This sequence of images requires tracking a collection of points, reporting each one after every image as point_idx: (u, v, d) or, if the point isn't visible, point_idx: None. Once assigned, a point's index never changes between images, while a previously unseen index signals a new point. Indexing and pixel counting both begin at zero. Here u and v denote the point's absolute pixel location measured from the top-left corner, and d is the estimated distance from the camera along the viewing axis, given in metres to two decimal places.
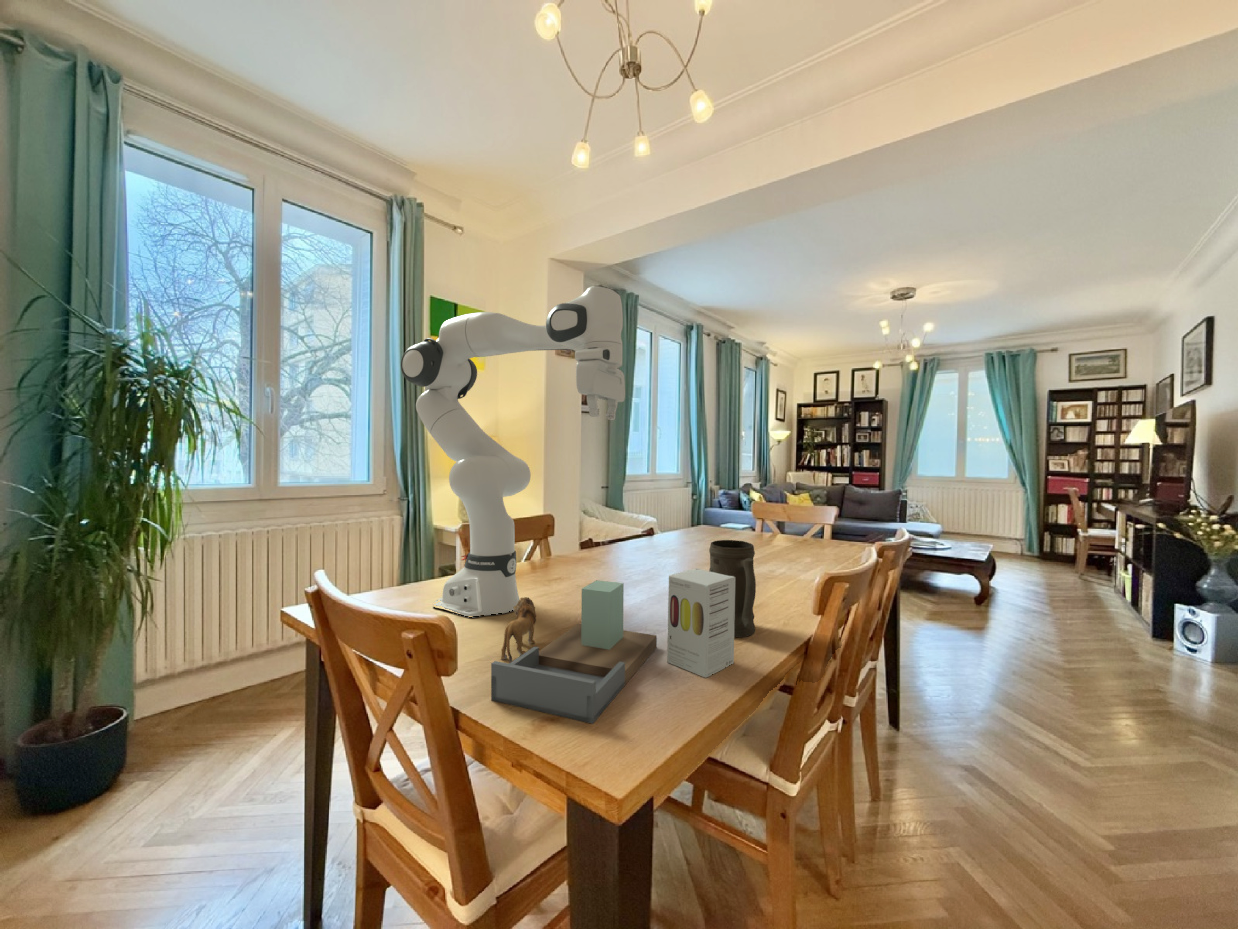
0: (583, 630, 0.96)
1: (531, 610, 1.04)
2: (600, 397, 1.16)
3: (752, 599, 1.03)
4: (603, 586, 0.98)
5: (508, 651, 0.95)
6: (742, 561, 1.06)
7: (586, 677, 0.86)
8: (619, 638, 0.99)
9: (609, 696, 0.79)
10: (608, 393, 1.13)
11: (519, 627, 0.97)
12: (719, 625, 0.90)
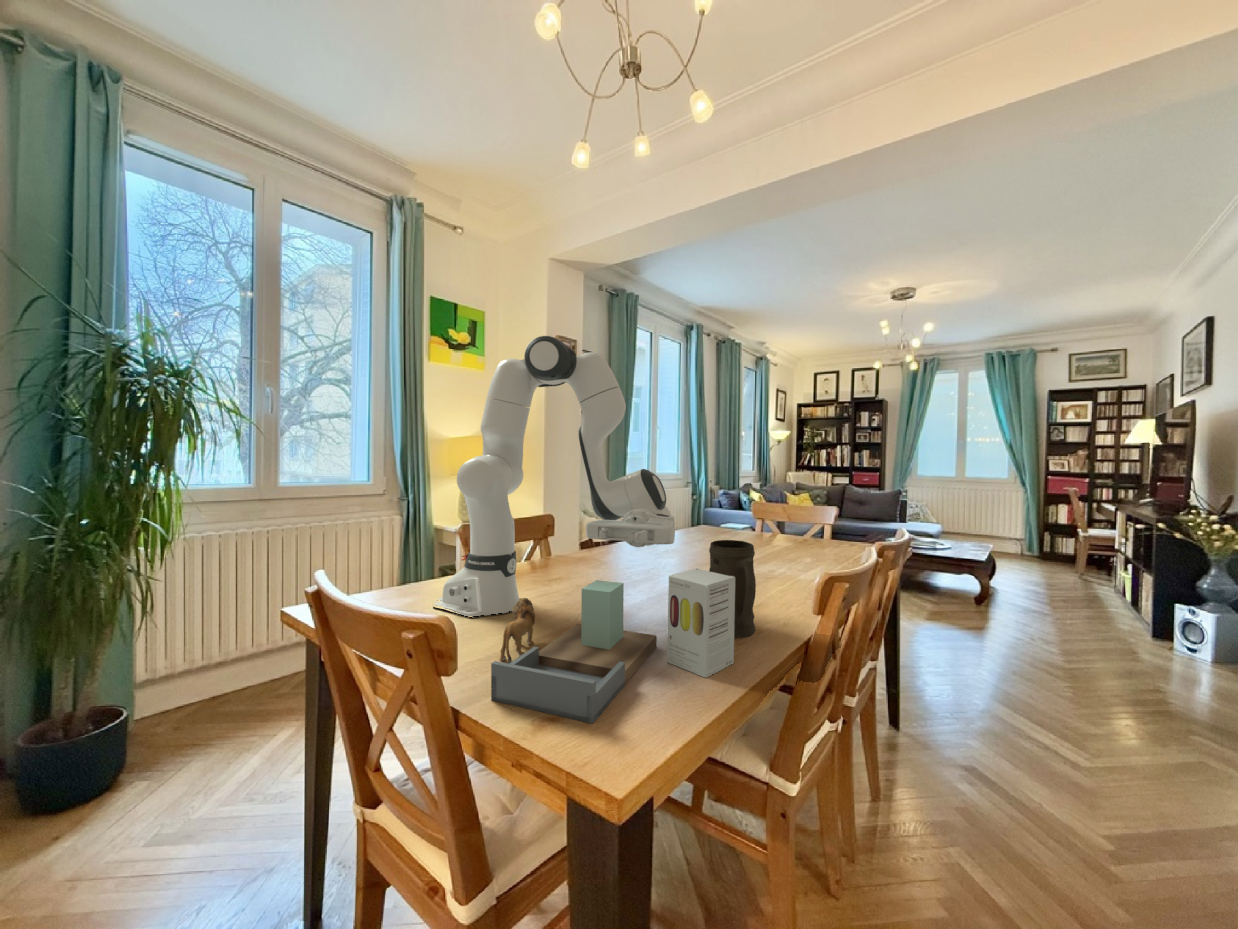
0: (583, 630, 0.96)
1: (530, 611, 1.03)
2: (621, 527, 1.10)
3: (752, 599, 1.03)
4: (603, 586, 0.98)
5: (507, 652, 0.94)
6: (742, 561, 1.06)
7: (586, 677, 0.86)
8: (619, 638, 0.99)
9: (609, 696, 0.79)
10: None
11: (518, 628, 0.97)
12: (719, 625, 0.90)
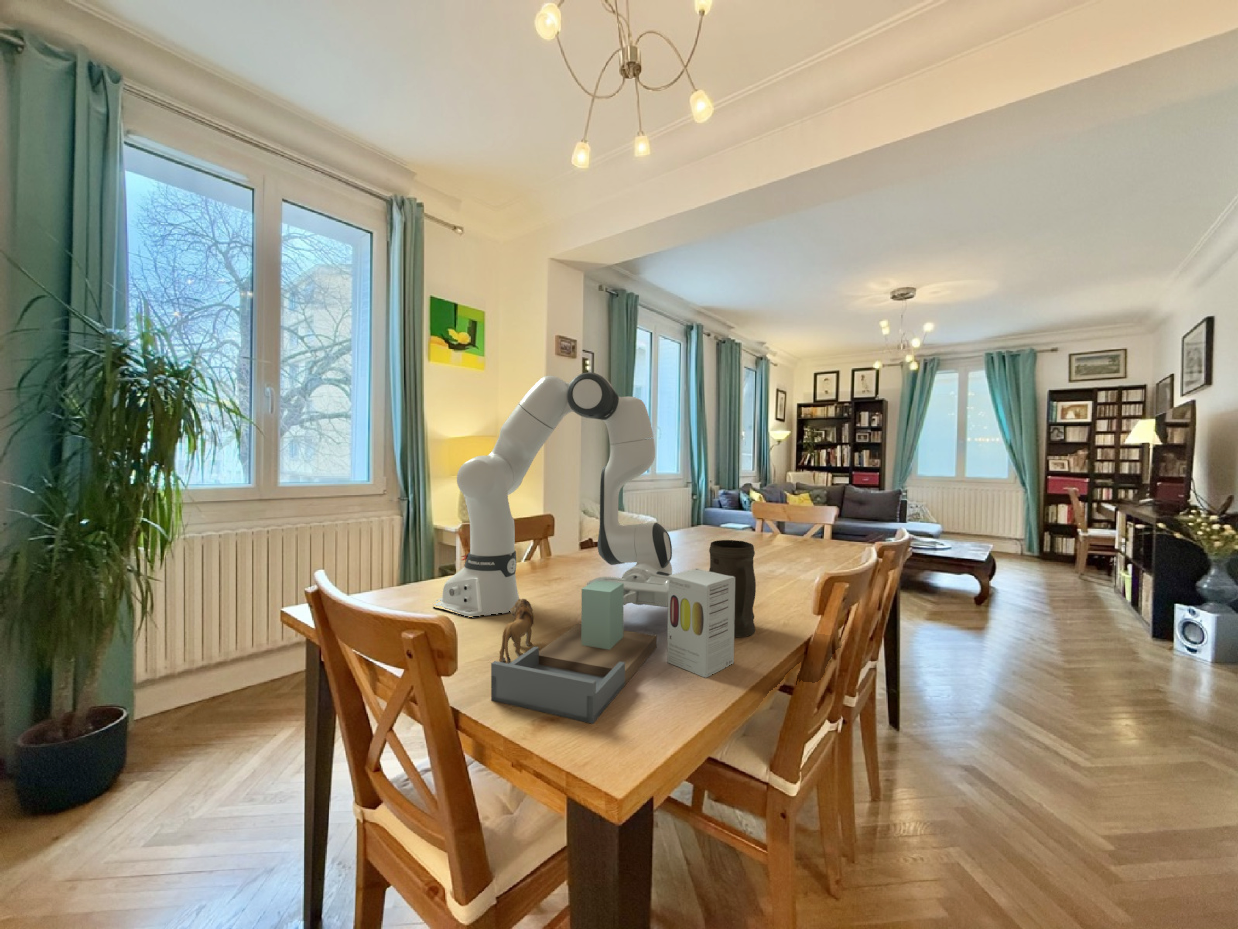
0: (583, 630, 0.96)
1: (529, 612, 1.03)
2: None
3: (752, 599, 1.03)
4: (603, 586, 0.98)
5: (506, 653, 0.94)
6: (742, 561, 1.06)
7: (586, 677, 0.86)
8: (619, 638, 0.99)
9: (609, 696, 0.79)
10: None
11: (518, 628, 0.96)
12: (719, 625, 0.90)
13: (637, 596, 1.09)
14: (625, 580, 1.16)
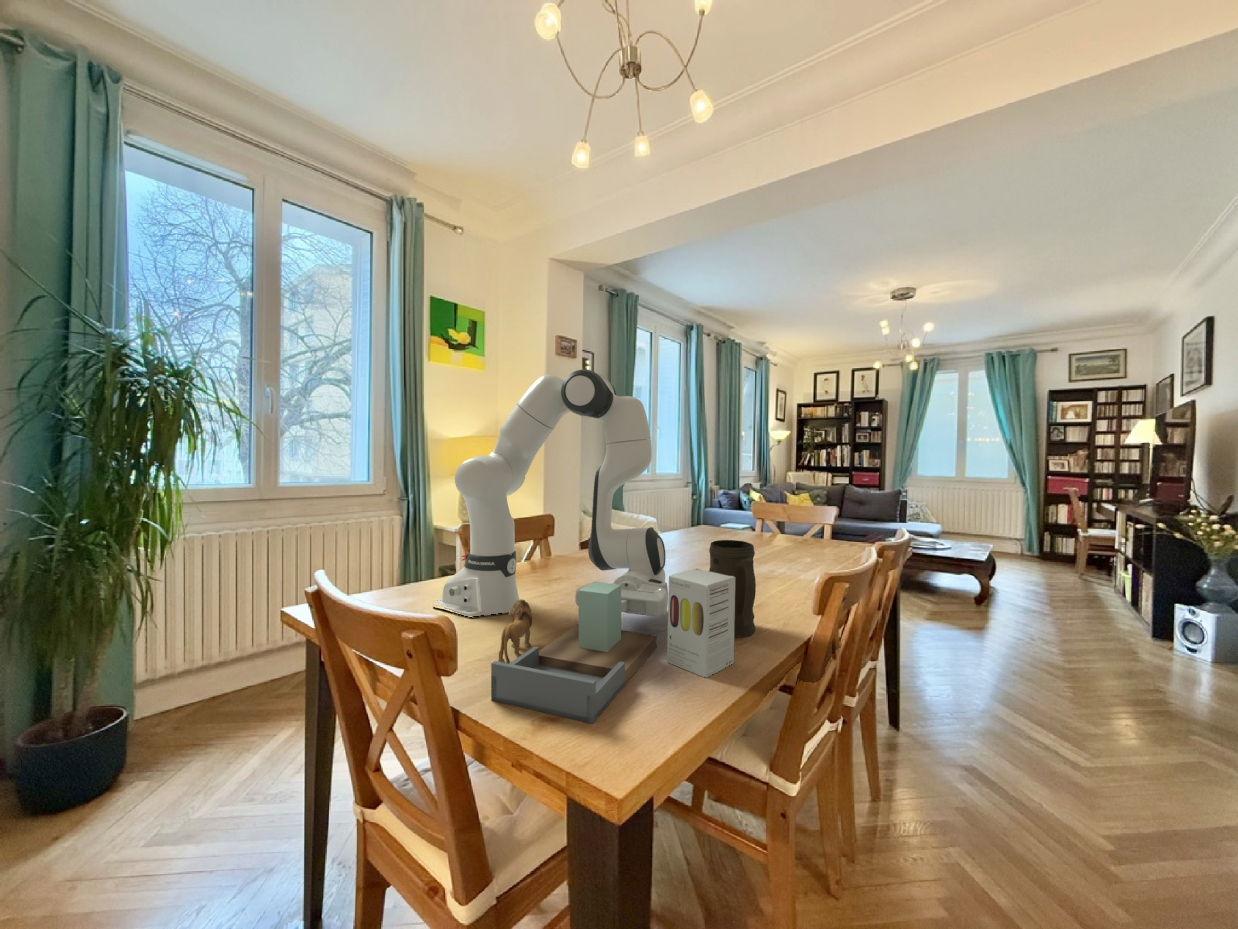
0: (581, 632, 0.95)
1: (528, 613, 1.02)
2: None
3: (752, 599, 1.03)
4: (600, 588, 0.97)
5: (506, 655, 0.93)
6: (742, 561, 1.06)
7: (586, 677, 0.86)
8: (617, 640, 0.98)
9: (609, 696, 0.79)
10: None
11: (517, 630, 0.96)
12: (719, 626, 0.90)
13: (628, 605, 1.04)
14: None
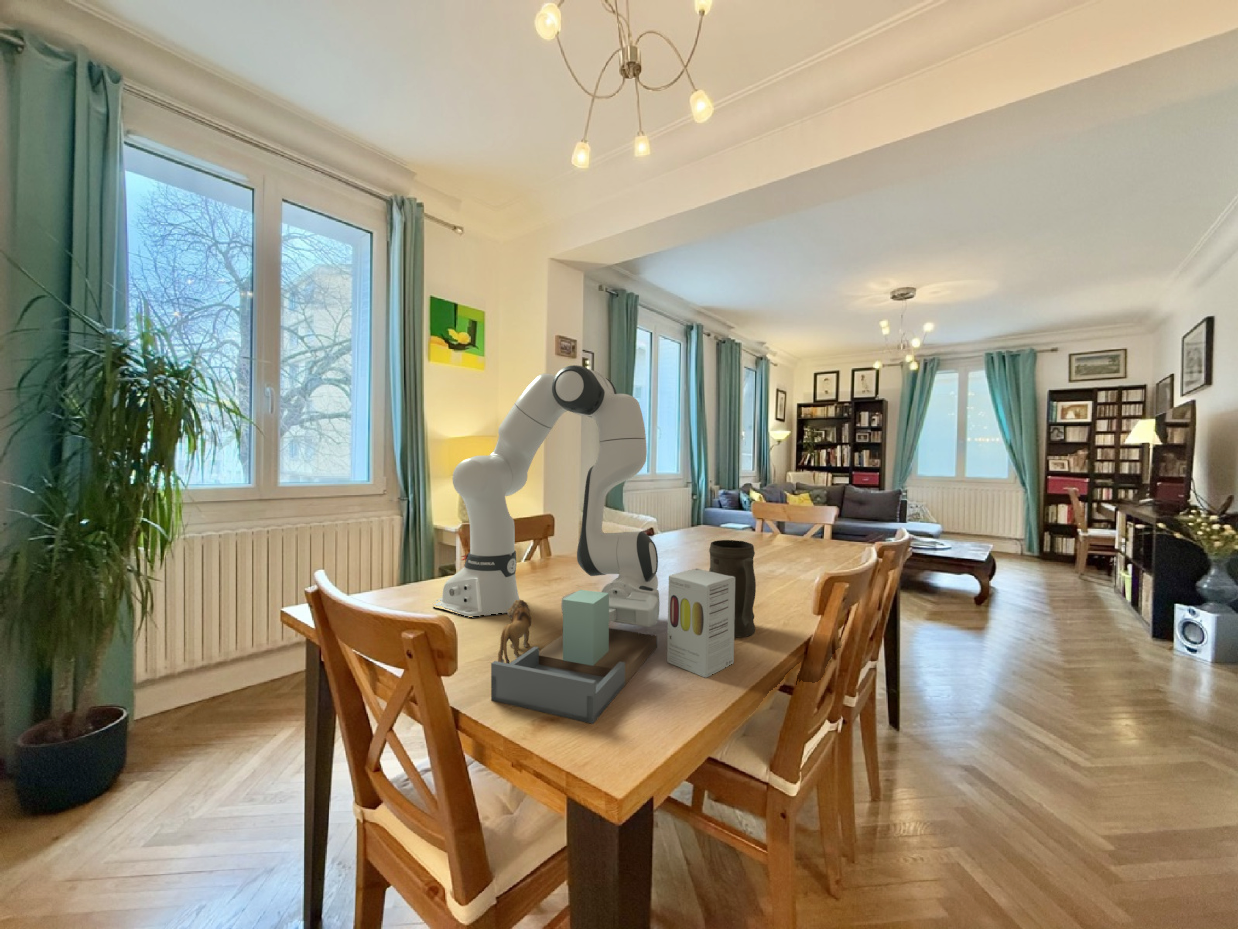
0: (565, 644, 0.89)
1: (527, 613, 1.02)
2: None
3: (752, 599, 1.03)
4: (586, 597, 0.91)
5: (505, 655, 0.93)
6: (742, 561, 1.06)
7: (586, 677, 0.86)
8: (604, 652, 0.92)
9: (609, 696, 0.79)
10: None
11: (516, 630, 0.95)
12: (719, 625, 0.90)
13: (616, 614, 0.98)
14: None
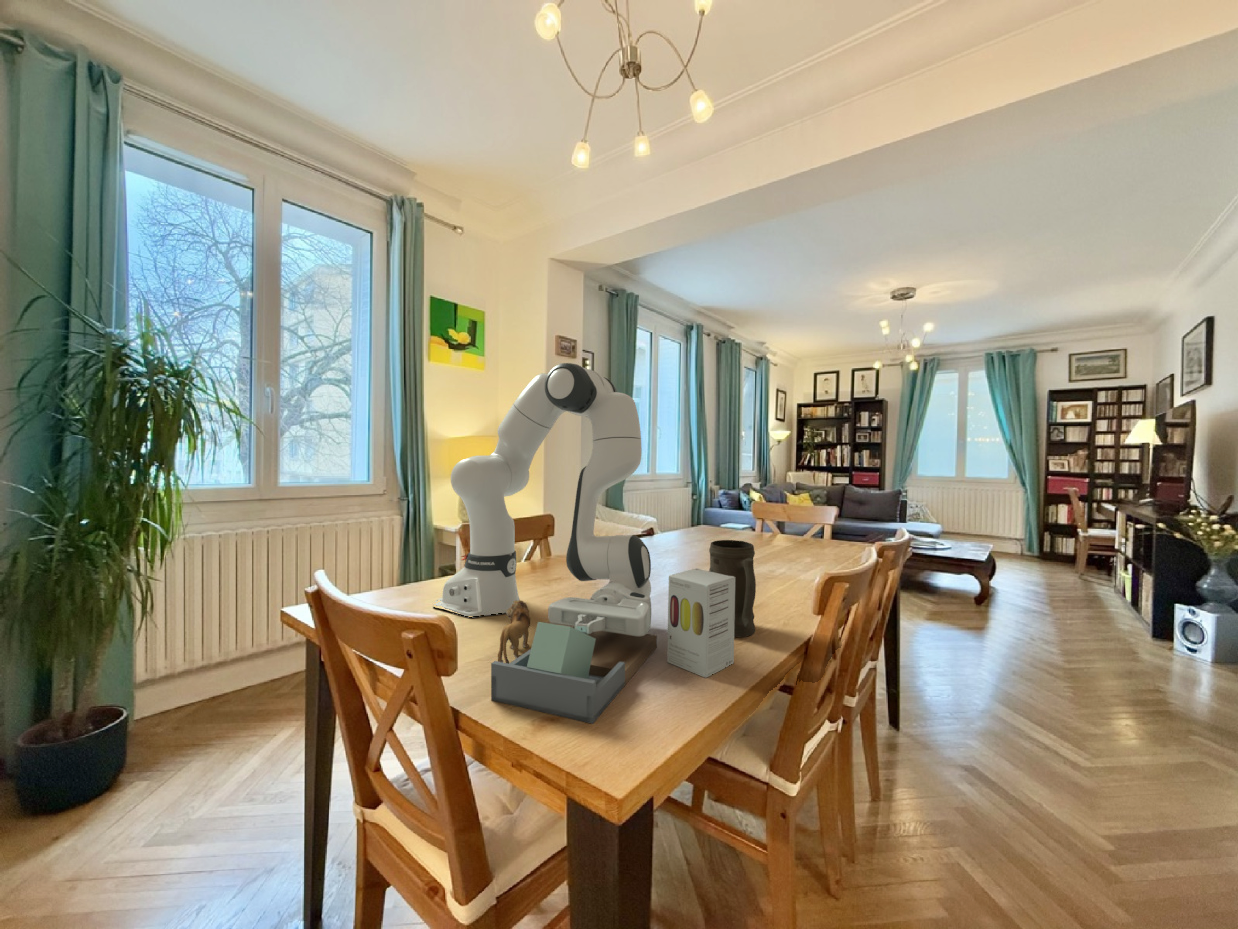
0: None
1: (526, 613, 1.02)
2: None
3: (752, 599, 1.03)
4: (549, 651, 0.78)
5: (505, 656, 0.92)
6: (742, 561, 1.06)
7: None
8: (592, 650, 0.87)
9: (609, 696, 0.79)
10: None
11: (516, 631, 0.95)
12: (719, 625, 0.90)
13: (605, 623, 0.93)
14: (593, 602, 1.00)
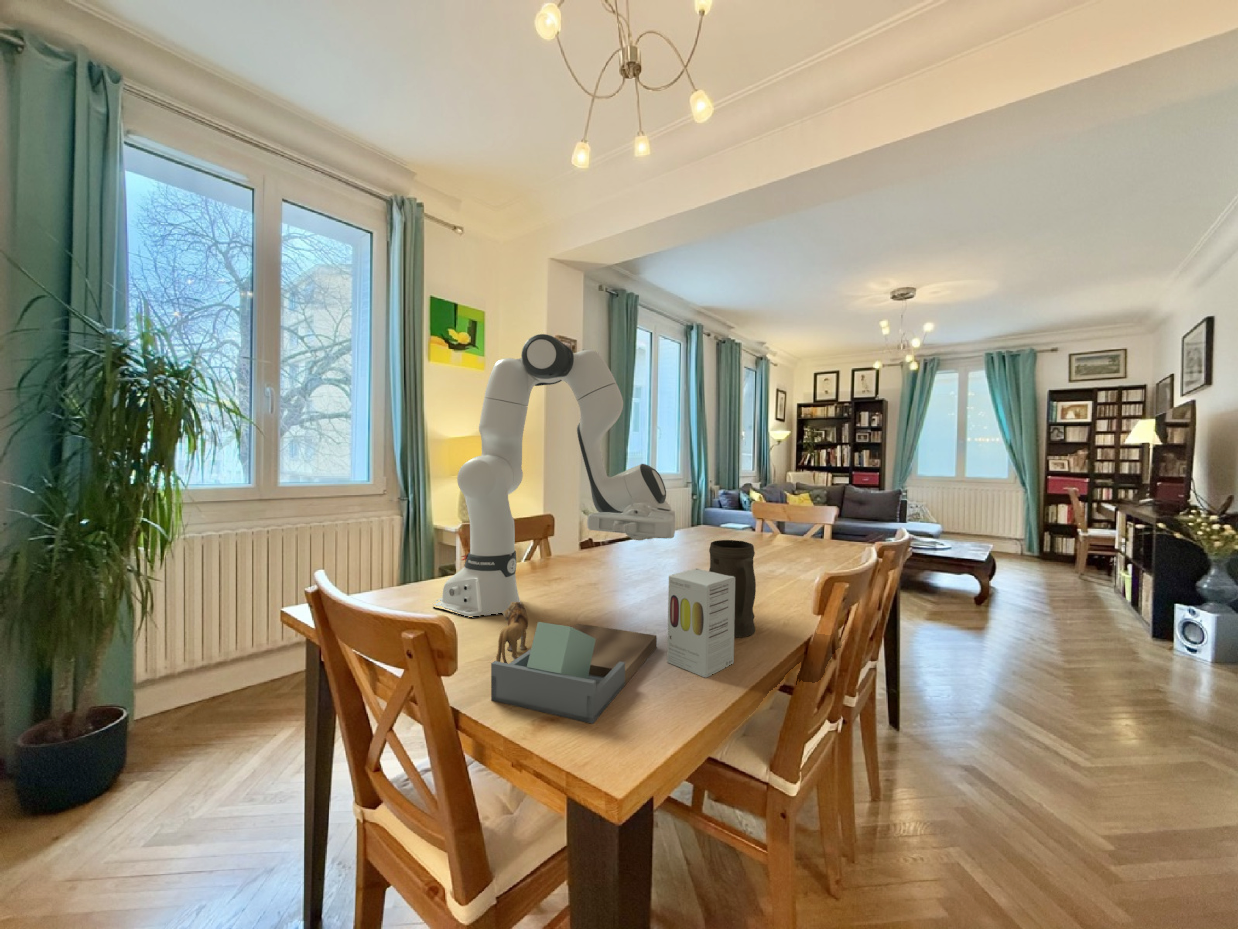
0: None
1: (524, 615, 1.01)
2: (622, 520, 1.11)
3: (752, 599, 1.03)
4: (549, 651, 0.78)
5: (504, 658, 0.91)
6: (742, 561, 1.06)
7: None
8: (592, 650, 0.87)
9: (609, 696, 0.79)
10: (631, 534, 1.11)
11: (514, 632, 0.94)
12: (719, 625, 0.90)
13: (637, 527, 1.10)
14: (626, 515, 1.16)
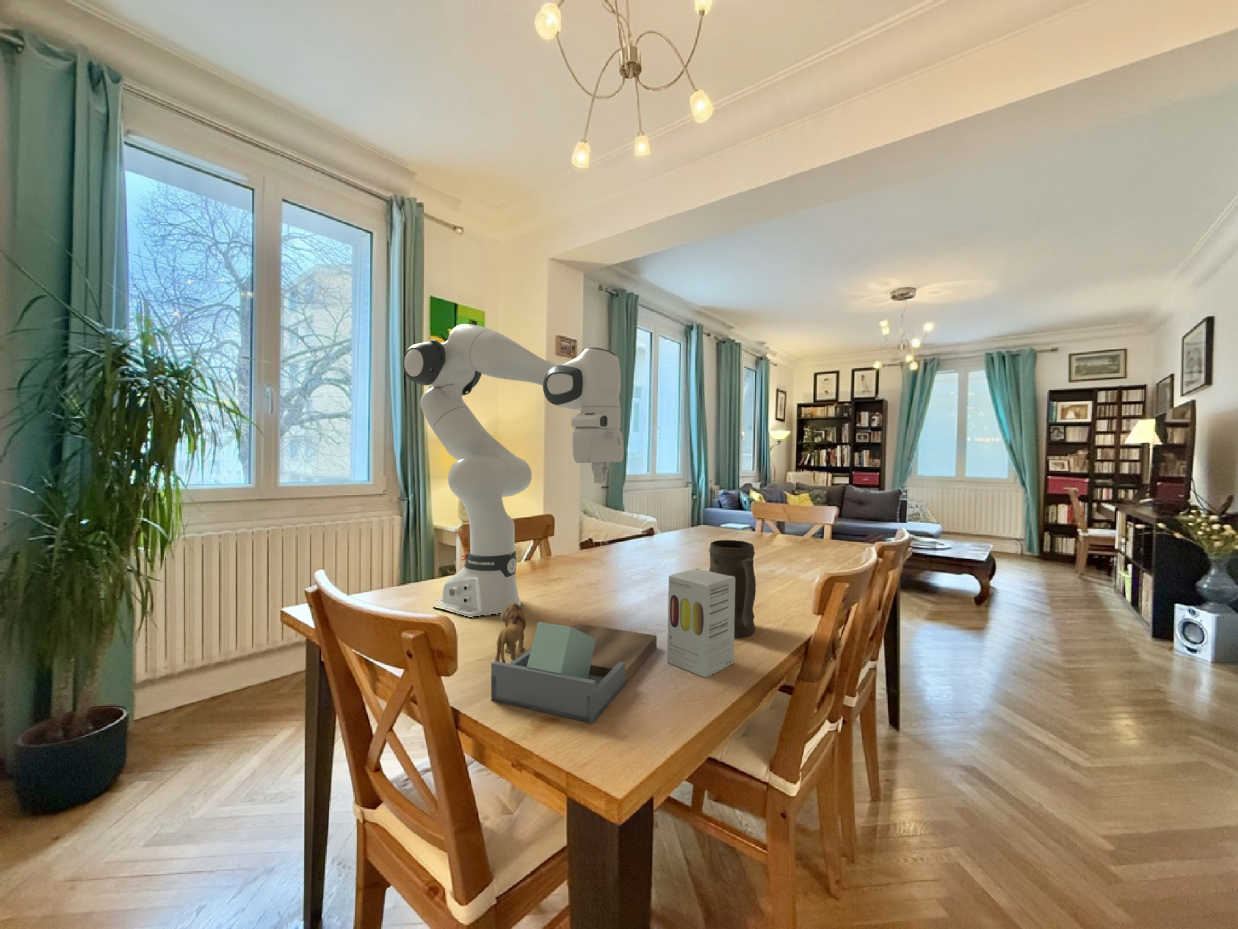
0: None
1: (521, 616, 1.00)
2: None
3: (752, 599, 1.03)
4: (549, 651, 0.78)
5: (503, 660, 0.90)
6: (742, 561, 1.06)
7: None
8: (592, 650, 0.87)
9: (609, 696, 0.79)
10: (606, 458, 1.10)
11: (513, 634, 0.93)
12: (719, 625, 0.90)
13: None
14: None
